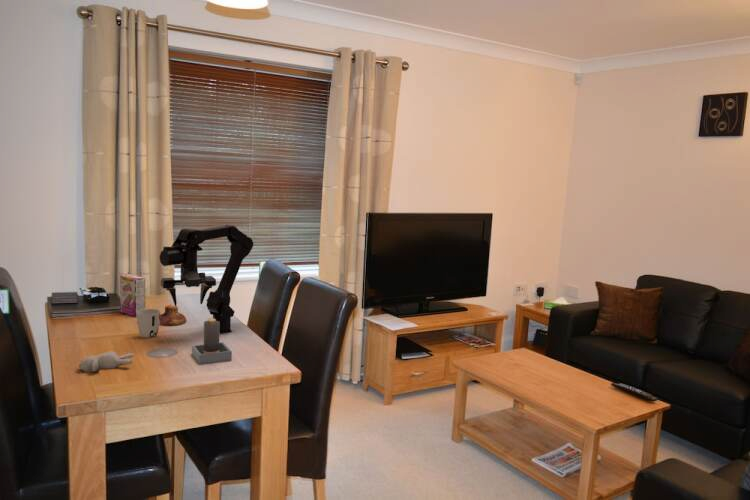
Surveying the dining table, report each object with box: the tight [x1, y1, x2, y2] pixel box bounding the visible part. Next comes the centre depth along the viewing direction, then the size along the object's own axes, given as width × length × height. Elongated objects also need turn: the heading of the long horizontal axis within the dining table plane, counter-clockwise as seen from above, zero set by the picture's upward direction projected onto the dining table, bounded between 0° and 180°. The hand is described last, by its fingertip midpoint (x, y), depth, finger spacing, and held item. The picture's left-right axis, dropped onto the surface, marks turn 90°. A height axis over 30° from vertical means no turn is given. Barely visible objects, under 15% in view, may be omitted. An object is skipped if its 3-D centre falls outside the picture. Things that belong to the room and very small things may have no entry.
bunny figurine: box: [78, 350, 135, 373], centre depth 177 cm, size 10×5×15 cm
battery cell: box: [203, 318, 221, 354], centre depth 189 cm, size 5×5×13 cm
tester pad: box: [145, 347, 179, 359], centre depth 191 cm, size 10×10×1 cm
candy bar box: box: [119, 273, 146, 318], centre depth 239 cm, size 11×5×16 cm, turn 58°
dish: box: [191, 341, 233, 365], centre depth 190 cm, size 11×11×4 cm
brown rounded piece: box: [159, 304, 187, 327], centre depth 231 cm, size 12×12×7 cm
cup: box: [136, 308, 161, 339], centre depth 209 cm, size 8×8×10 cm
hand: (188, 304), depth 209 cm, fingers open, 9 cm apart
